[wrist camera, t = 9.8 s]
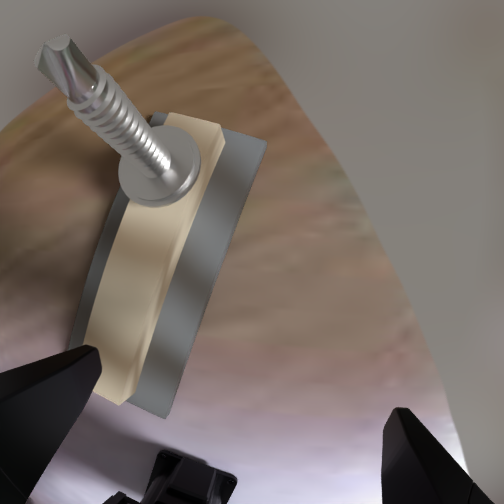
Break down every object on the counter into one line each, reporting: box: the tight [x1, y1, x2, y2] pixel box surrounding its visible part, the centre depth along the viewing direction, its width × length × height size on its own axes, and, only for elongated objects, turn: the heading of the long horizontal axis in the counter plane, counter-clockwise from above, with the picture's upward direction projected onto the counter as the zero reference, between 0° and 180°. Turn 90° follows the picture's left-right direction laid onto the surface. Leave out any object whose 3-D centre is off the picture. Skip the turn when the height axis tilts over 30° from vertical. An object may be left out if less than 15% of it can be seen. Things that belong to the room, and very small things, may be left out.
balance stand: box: [68, 112, 267, 419], centre depth 20 cm, size 21×9×4 cm, turn 160°
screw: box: [34, 34, 201, 208], centre depth 12 cm, size 13×5×5 cm
